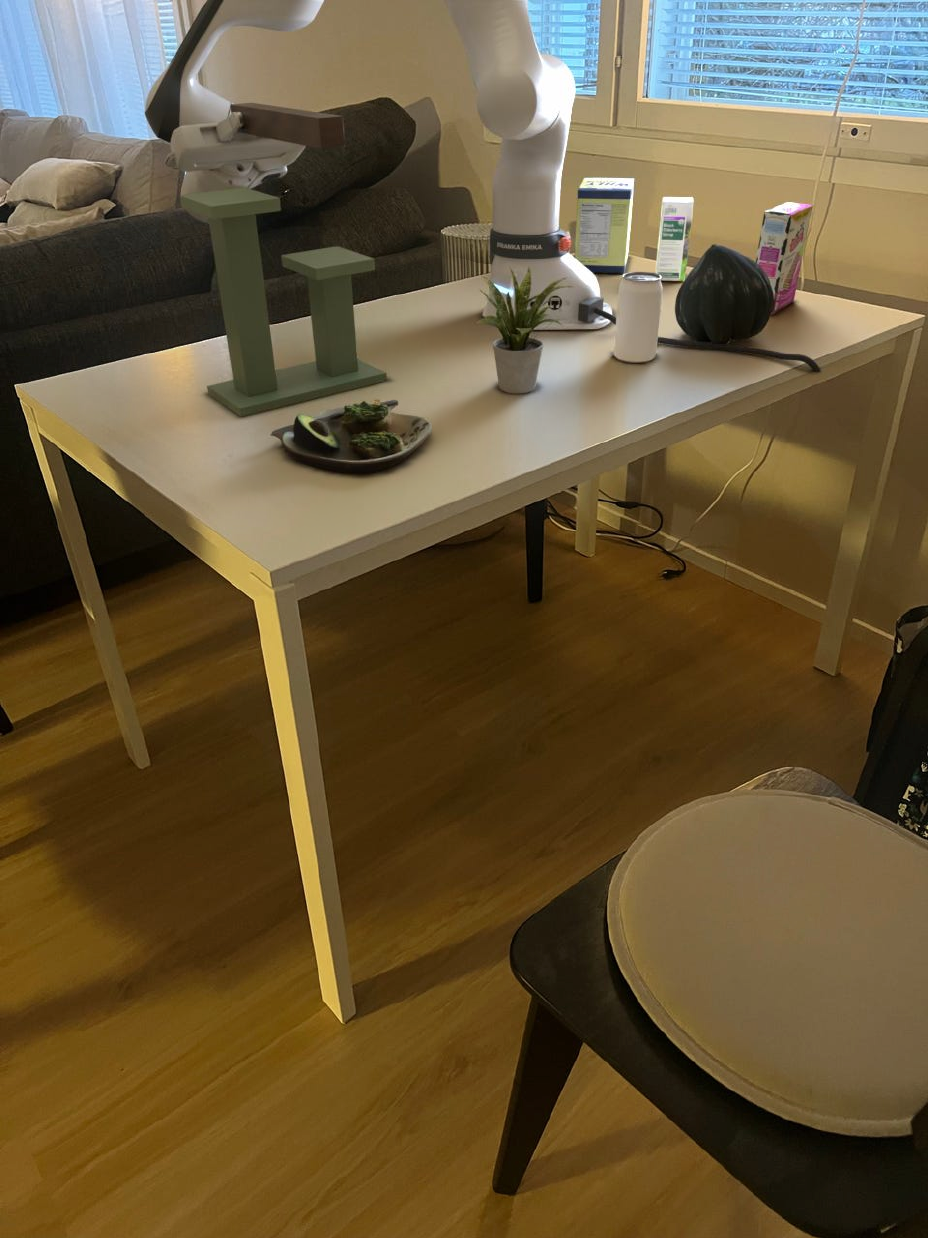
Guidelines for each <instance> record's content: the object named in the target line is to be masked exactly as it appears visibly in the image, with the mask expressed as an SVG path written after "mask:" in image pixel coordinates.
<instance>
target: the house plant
mask: <svg viewBox="0 0 928 1238" xmlns="http://www.w3.org/2000/svg"><path fill="white" fill-rule="evenodd" d="M510 270H511V268H510ZM511 273H512V278H513V283H514V291H515V318H514V312H513V308H512V304H511V297H510V293H509V292H508V293H507V295H506V301H507V305H508V309H509V312H508V309H507V305H506V303H505V301H504V299H503V297H502V294H501V293H500V291H499V289H498V288H497V287H496V286H495V285H494V284H493V283H492V282H491V281H490V278H488V277H485V276H483V275H480V276H481V278H483V279H484V281H485V283H486V284H487V285H488V288H489V287H490V289H491V291H492V293H493V295H494V298H495V300H496V303H497V304H496V303H495V302H494V301H493V300H492V299H491V298H490V297H489V296H488V295H487V294H488V293H486V292H485V291H483V290H482V289H481V288H478V290H479V292H481V293H482V294H483V295H484V296H485V297H486V299H487V298H488V299H489V301H490V302H491V303H492V304H493V305H494V306H495V308H496V309H497V311H496V316H497V317H495V316H486V318H485V317H483V318H480V319H478V320H477V321H476V322H475V323H474V324H477V323H478V324H479V323H480V324H490V325H494V326H495V328H496V329H497V330H498V331H499V333H500V335H501V338H498V339H495V340H494V341H493V343H492V349H493V355H494V361H495V369H496V376H497V383H498V388H499V389H500V390H501V391H502V392H506V393H508V394H527V393H530V392H533V391H534V390H535V389H536V385H537V381H538V376H539V370H540V366H541V360H542V355H543V350H544V342H543V341H542V340H541V339H538V338H536V337H537V336H538V335H539V334H540V332H538V333H537V334H536V335H535V336H534V337H531V334H532V332H533V331H534V330H533V329H534V328H535V327H537V326H538V325H539V324H541V323H544V322H551V323H552V322H556V323H559V324H560V325H562V324H561V323H560V322H558V321H557V320H566V319H557V320H554V319H545V320H542V319H543V318H545V317H546V316H548V315H547V314H544V312H545V311H546V310H547V309H548V308H549V307H552V306H554V305H551V306H547V307H545V308H543V309H542V310H541V311H540V309H539V308H540V306H541V305H542V303H543V301H544V300H545V299H546V297H547V296H548V295H549V294H550V293H551V292H553V291H555V290H557V289H560V288H569V287H571V286H561V287H560V286H557V287H554V286H555V285H556V284H557V283H559V282H560V281H562V280H564V279H566V278H567V277H566V278H563V279H560V280H557V281H555V282H553V283H552V284H550V285H549V286H548V287H547V288H545V289H544V290H543V291H542V293H541V294H538V295H536V296H534V297H532V298H530V299H529V295H530V290H531V272H530V269H529V268H528V271H527V275H526V276H525V277H524V278H523V281H522V283H521V286H520V288H519V286H518V283H517V281H516V278H515V275H514V272H513V271H512V270H511ZM535 298H537V299H536V300H535V302H534V304H533V305H532V307H531V309H528V310H527V306H528V303H529V302H530V301H532V300H534V299H535ZM551 300H559V299H550V300H548V301H546V302H545V303H547V302H549V301H551ZM545 303H544V304H545ZM544 304H543V305H544ZM543 305H542V306H543ZM542 306H541V307H542ZM537 312H538V313H537ZM509 314H510V315H509ZM531 316H532V317H531ZM549 316H550V315H549ZM530 318H531V319H530ZM502 320H503V321H502ZM529 320H530V321H529ZM540 320H542V321H540ZM503 322H504V323H505V325H504V323H503ZM528 322H529V323H528ZM551 323H550V324H551ZM527 324H528V325H527ZM546 327H547V326H546ZM546 327H545V328H546ZM545 328H544V329H545Z"/></svg>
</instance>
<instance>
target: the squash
mask: <svg viewBox="0 0 928 1238" xmlns="http://www.w3.org/2000/svg"><path fill="white" fill-rule="evenodd" d="M773 301H774V294H773V290H772V286H771V284H770V280H769V278H768V276H767V274H766V273H765V271H764V270H763V269H762V268H761V267H760V266H759V265H758V264H757V263H756V260H753V259H752V258H750V257H748V256H746V255H744V254H743V253H741V252H738V251H737V250H735V249H732V248H730V247H728V246H725V245H719V244H716V243H713V244H711V245H710V247H709V248H707V249H706V251H705V252H704V254H702V256H701V257H700V259H699V260H698V262H697V263H696V264H695V266H694V267H693V268H692V269H691V271H690V272H689V273H688V275H687V276H686V277H685V281H682V284H681V285H680V287H679V288H678V290H677V293H676V296H675V302H674V303H675V304H674V314H675V321H676V323H677V325H678V326H679V328H680V329H681V330H682V332H683V333H684V334H686V335H687V336H689V337H691V338H692V339H693V341H700V342H713V343H723V344H730V341H731V340H732V341H733V342H741V341H744V340H749V339H751V338H754V337H755V336H757V335H759V334H760V333H761V332H762V331H764V329H765V328H766V327H767V324H768V323H769V321H770V319H771V316H772V315H771V312H772V308H773Z"/></svg>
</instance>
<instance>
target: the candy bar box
mask: <svg viewBox="0 0 928 1238" xmlns="http://www.w3.org/2000/svg"><path fill="white" fill-rule="evenodd" d="M813 207H814V205H813V204H808V203H807V204H806V203H799V202H788V201H787V202H784V203H782V204H779V205H777V206H775V207H771V208H770V209H767V210H764V211H763V215H762V216H763V217H762V223H761V229H760V234H759V239H758V240H759V241H758V246H757V251H756V257H755V262H756V263H757V264H758V265H759V266H760V267H761V268H762V269H763V270H764V271H765V273H766V274H767V276H768V278H769V280H770V284H771V286H772V290H773V294H774V301H773V308H772V312H771V316H772V315H774V314H775V313H777V312H778V311H781V309H783V308H785V307H786V306H788V305H790V304H791V303H792V302H794V301H795V296H796V292H797V287H798V283H799V276H800V271H801V266H802V262H803V256H804V251H805V248H806V247H805V246H806V241H807V237H808V233H809V228H810V222H811V217H812V213H813V212H812V211H813Z"/></svg>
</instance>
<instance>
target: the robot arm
mask: <svg viewBox="0 0 928 1238" xmlns="http://www.w3.org/2000/svg"><path fill="white" fill-rule="evenodd" d="M443 1H444V3H445V5H446V7H447V10H448V12H449V14H450V17H451V18H452V21H453V23H454V25H455V27H456V30H457V32H458V34H459V36H460V39H461V42H462V45H463V47H464V51H465V55H466V58H467V61H468V65H469V68H470V73H471V77H472V81H473V84H474V89H475V92H476V108H477V109H476V110H477V114H478V117H479V119H480V122H482V125H483V126H484V127H485V128H486V129H487V130H488V131H489V132H490V133H491V134H493V135H495V136H497V137H498V138H501V142H500V148H499V153H498V158H497V163H496V167H495V170H494V172H493V177H492V228H491V229H490V230H489V237H488V259H489V263H490V275H489V280H490V281H491V282H492V283H493V284H494V285H495V286H496V287H497V288H498V289H499V291H500V293H501V294H502V297H503V299H504V301H505V303H506V305H507V301H506V295H507V293H508V292H509V293H510V297H511V304H512V308H513V312H514V318H515V291H514V283H513V278H512V273H511V270H512V271H513V272H514V275H515V278H516V281H517V283H518V286H519V288H520V286H521V283H522V281H523V278H524V277H525V276H526V275H527V271H528V268H529V269H530V272H531V290H530V295H529V299H530V298H532V297H534V296H536V295H538V294H541V293H542V291H543V290H544V289H545V288H547V287H548V286H549V285H550V284H552V283H553V282H555V281H557V280H560V279H563V278H566V277H567V278H566V279H564V280H562V281H560V282H559V283H557V284H556V285H555V286H554V287H557V286H560V287H561V286H571V287H569V288H560V289H557V290H555V291H553V292H551V293H550V294H549V295H548V296H547V297H546V299H545V300H544V301H543V303H542V305H543V304H544V303H545V302H546V301H548V300H550V299H559V300H551V301H549V302H547V303H545V304H544V305H543V306H542V305H541V306H542V307H541V306H540V308H539V309H540V311H541V310H542V309H543V308H545V307H547V306H551V305H554V306H552V307H549V308H548V309H547V310H546V311H545V312H544V314H547V315H548V316H546V317H545V318H543V319H542V320H545V319H554V320H557V319H566V320H557V321H558V322H560V323H561V324H562V325H560V324H559V323H556V322H552V323H551V322H544V323H541V324H539V325H538V326H537V327H535V328H534V329H533V330H532V331H538V330H539V331H544V330H545V331H547V330H551V331H552V330H553V331H554V330H598V329H601V328H605V327H606V326H608V325H609V324H610V322H611V323H613V325H615V326H616V316H614V315H613V308H612V307H611V306H610V304H608V303H606V302H605V301H604V299H605V298H604V297H601V289H600V285H599V281H598V278H597V276H596V275H595V273H594V272H591V271H589V270H588V269H587V268H586V267H585V266H584V265H582V264H581V263H580V262H579V261H578V260H577V259H576V258H575V256H573V255H572V254H571V253H570V250H571V246H572V240H571V234H570V232H569V231H567V232H566V231H565V230H563V229H562V228H560V227H559V226H560V205H561V204H560V203H561V186H562V185H561V184H562V173H563V167H564V160H565V156H566V149H567V145H568V137H569V131H570V124H571V115H572V109H573V104H574V102H575V98H576V82H575V81H576V80H575V78H574V75H573V73H572V71H571V69H570V68H569V67H568V65H567V64H566V63H565V62H563V61H562V60H561V59H559V58H558V57H557V56H555V55H553V54H550V53H547V52H540V49H539V47H538V45H537V44H538V43H537V42H536V38H535V34H534V29H533V26H532V23H531V19H530V14H529V8H528V7H529V6H528V0H443ZM324 2H325V0H206V1H205V3H204V4H203V5H202V7H201V8H200V10H199V12H198V14H197V16H196V17H195V19H194V21H193V22H192V24H191V26H190V27H189V29H188V31H187V33H186V34H185V36H184V38H182V39H183V40H182V41H181V43H180V44H179V47H178V48H177V49H176V52H175V54H174V56H173V57H172V59H171V61H170V62H169V63H168V66H167V67H166V68H165V69H164V71H163V72H162V73H161V74H160V75H159V77H157V79H156V80H155V81H154V83H153V84H152V86H151V87H150V90H149V91H148V94H147V97H146V101H145V108H144V109H145V110H144V116H145V118H146V121H147V124H148V125H149V127H150V129H151V131H152V132H153V134H154V135H155V136H156V138H157V139H159V140H162V141H164V142H167V143H169V144H170V150H171V152H169V153H168V154H167V155H166V157H165V159H164V164H165V166H166V167H167V168H173V169H174V170H178V171H180V172H183V173H185V174H184V177H183V180H182V184H181V189H180V195H186V194H194V193H203V192H211V191H220V190H228V189H236V188H248V189H251V190H252V189H253V188H255V187H257V186H259V185H261V184H263V183H266V182H270V181H273V180H277V179H279V178H283V177H284V176H286V174H287V173H288V167H287V166H290V165H291V164H292V163H294V162H295V161H296V160H297V159H298V158H299V156H300V155H301V154H302V153H303V151H304V150H305V149H306V147H307V146H304V145H299V144H294V143H289V142H284V141H279V140H274V139H270V138H265V137H260V136H255V135H250V134H245V133H240V132H236V131H237V130H241V129H243V128H244V126H245V125H246V120H245V118H244V114H243V112H232V113H231V106H230V104H235V103H234V102H233V101H229V100H227V99H226V98H224V97H222V96H220V95H218V93H217V94H216V93H215V92H214V91H212V90H210V89H208V88H207V87H205V86H204V85H201V84H200V83H199V81H198V79H197V76H198V74H199V72H200V70H201V68H202V67H203V65H204V64H205V62H206V60H207V58H208V57H209V55H210V53H211V52H212V50H213V49H214V47H215V45H216V43H217V42H218V40H219V39H220V37H221V36H222V35H223V33H225V32H226V31H227V30H229V29H232V28H235V27H253V28H257V29H258V28H259V29H263V30H270V31H276V32H295V31H298V30H299V31H300V30H301V29H303V28H306V27H307V26H309V25H310V24H311V23H313V21H314V20H315V18H316V17H317V15H318V13H319V12H320V9H321V7H322V5H323V4H324ZM185 211H186V212H187V213H188V214H189V216H190V217H192V218H193V219H195V220H196V221H199V222H201V223H204V224H209V220H208V218H207V217H205V216H202V215H199V214H197V213H194V212H191V211H188V210H186V209H185ZM510 268H511V270H510ZM486 294H487V295H488V296H489V297H490V298H491V299H492V300H493V301H494V302H495V303H496V300H495V298H494V295H493V293H492V291H491V289H490V287H489V286H488V289H487V293H486ZM536 299H537V298H535V299H534V300H532V301H530V302H529V303H528V306H527V310H528V309H531V307H532V305H533V304H534V302H535V300H536ZM496 304H497V303H496ZM507 309H508V305H507ZM496 311H497V309H496V308H495V306H494V305H493V304H492V303H491V302H490V301H489V299H488V298H487V297H486V299H485V304H484V308H483V311H482V316H483V318H486V316H495V317H497V316H496ZM508 312H509V309H508ZM537 313H538V312H537ZM509 315H510V314H509ZM549 315H550V316H549ZM531 317H532V316H531ZM530 319H531V318H530ZM542 320H540V321H542ZM502 321H503V320H502ZM529 321H530V320H529ZM503 323H504V322H503ZM528 323H529V322H528ZM550 323H551V324H550ZM504 325H505V323H504ZM527 325H528V324H527ZM546 326H547V327H546ZM545 327H546V328H545ZM544 328H545V329H544ZM657 344H663V345H668V346H675V347H676V346H677V347H683V348H694V349H695V348H698V349H710V350H711V349H712V350H721V351H727V352H736V353H742V354H750V355H756V356H761V357H767V358H772V359H776V360H782V361H798V362H803V363H804V364H806V365H808V366H809V367H810V368H811V370H812V372H814V373H815V372H816V373H822V370H821V367H819V365H818V364H817V363H816V361H815V360H814V359H812V358H811V357H810V356H808V355H805V354H802V353H788V352H787V353H786V352H785V353H784V352H779V351H774V350H769V349H763V348H758V347H751V346H744V345H737V344H731V343H727V344H723V343H713V342H700V341H695V340H685V339H676V338H670V337H663V336H658V341H657Z"/></svg>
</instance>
